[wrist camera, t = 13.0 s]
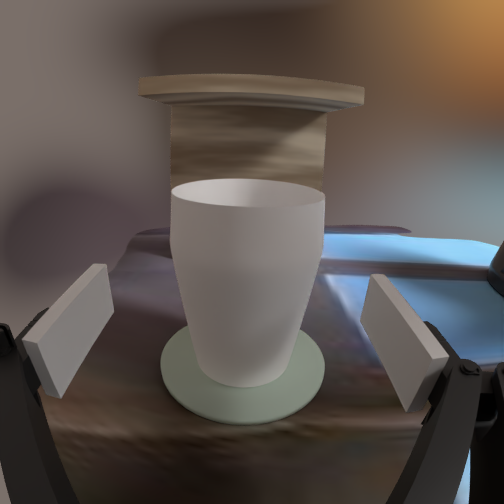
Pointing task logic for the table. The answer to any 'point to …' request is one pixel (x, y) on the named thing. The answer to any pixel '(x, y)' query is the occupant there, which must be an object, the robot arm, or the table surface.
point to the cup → (245, 272)
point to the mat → (235, 398)
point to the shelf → (248, 125)
